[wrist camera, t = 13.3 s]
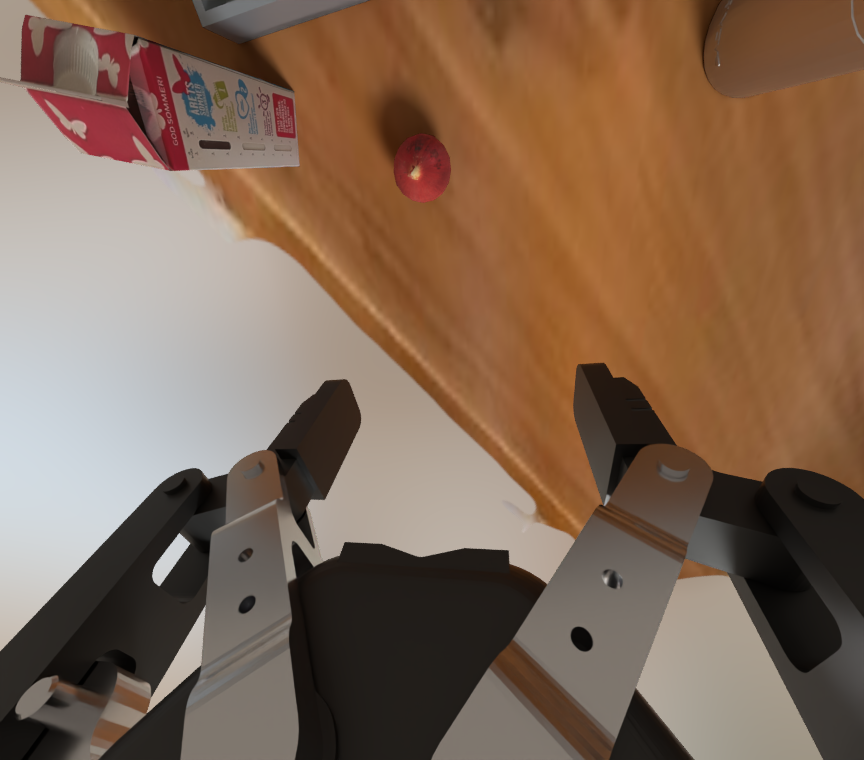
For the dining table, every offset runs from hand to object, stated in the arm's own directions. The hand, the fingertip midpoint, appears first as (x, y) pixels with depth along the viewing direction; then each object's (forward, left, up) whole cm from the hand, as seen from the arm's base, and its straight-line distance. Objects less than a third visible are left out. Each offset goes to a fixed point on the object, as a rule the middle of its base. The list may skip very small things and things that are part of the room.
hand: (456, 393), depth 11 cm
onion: (+5, -7, -33) cm, 34 cm away
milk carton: (+22, -14, -33) cm, 42 cm away
